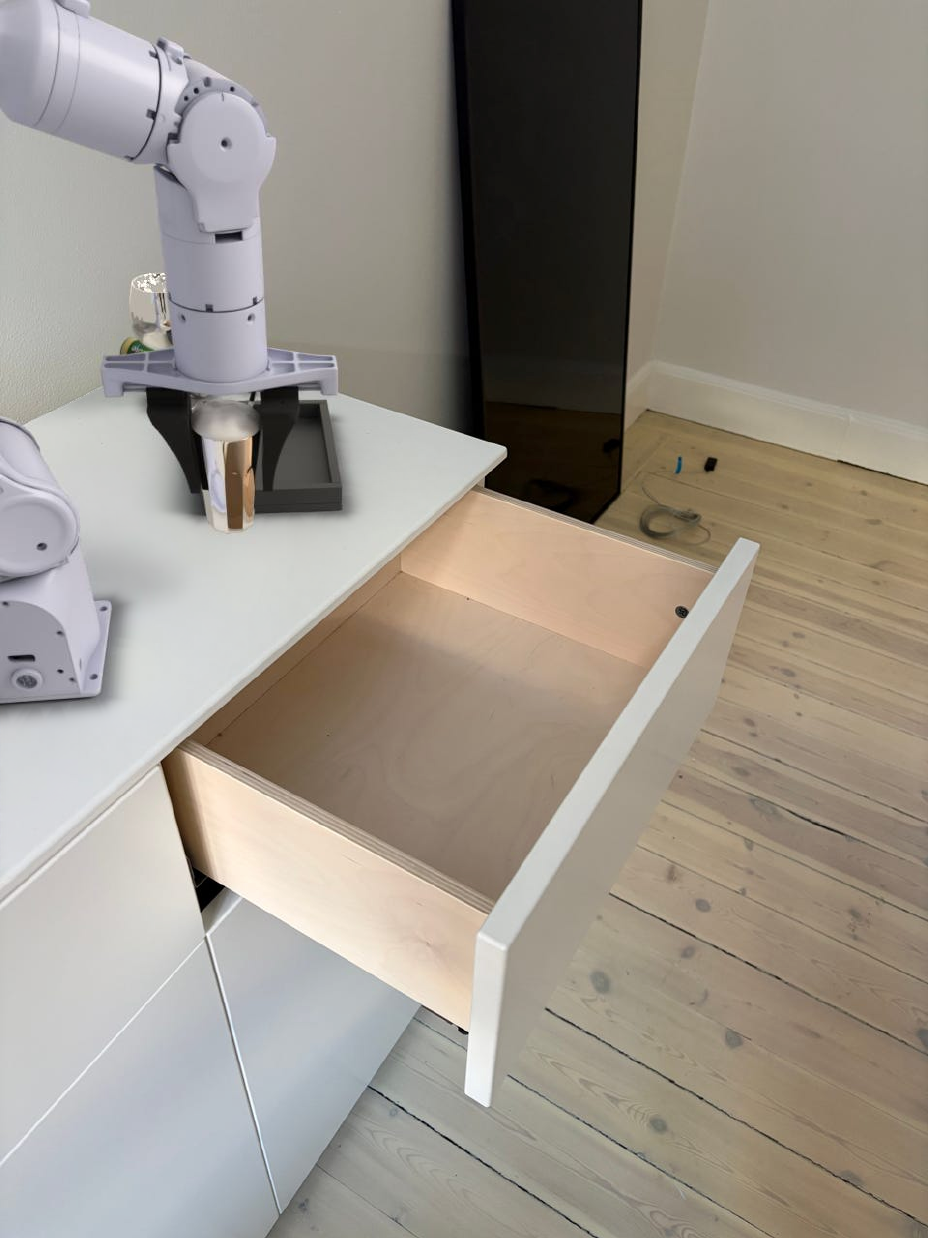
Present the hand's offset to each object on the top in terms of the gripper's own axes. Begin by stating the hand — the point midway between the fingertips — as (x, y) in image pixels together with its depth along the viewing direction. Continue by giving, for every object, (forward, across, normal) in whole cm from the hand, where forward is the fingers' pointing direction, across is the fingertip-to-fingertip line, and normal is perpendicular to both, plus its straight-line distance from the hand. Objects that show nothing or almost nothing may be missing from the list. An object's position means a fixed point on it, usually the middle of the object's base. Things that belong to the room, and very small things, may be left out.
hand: (232, 484), depth 65 cm
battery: (+6, +6, -35) cm, 36 cm away
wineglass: (+9, +6, -29) cm, 31 cm away
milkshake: (+3, 0, 0) cm, 3 cm away
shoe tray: (+9, -3, -18) cm, 20 cm away
